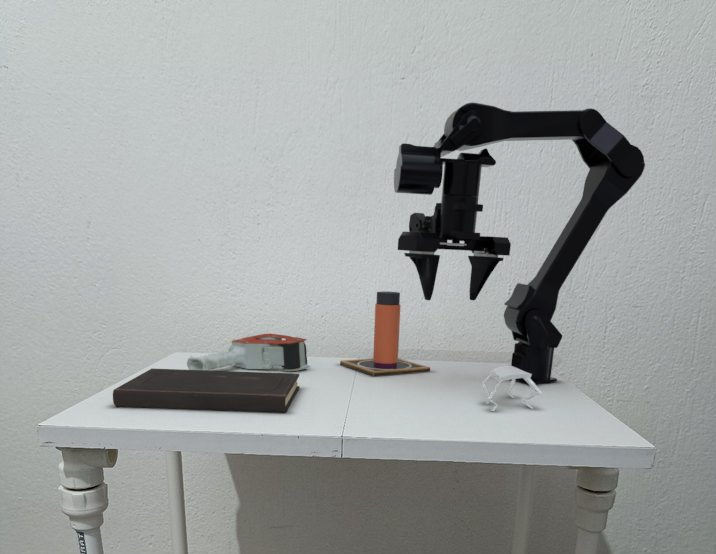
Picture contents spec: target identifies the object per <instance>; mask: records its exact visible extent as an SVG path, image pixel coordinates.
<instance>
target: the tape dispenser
mask: <svg viewBox="0 0 716 554" xmlns="http://www.w3.org/2000/svg"><path fill="white" fill-rule="evenodd" d="M305 341H307V338H302V337H298V336H295V337H294V336H291V335H286V334H285V335H284V334H278V333H261V334H256V335H252V336H246V337H241V338H238V339H233V340H231V345H230V346H229V347H228V348H227V350H228V351H221V352H216V353H210V354H206V355H202V356H190V357H188V358H187V359H186V367H187V370H208V371H212V370H216V369H221V368H224V367H228V366H232V365H233V367H236V368H240V369H247V370H271V369H274V367H276V366H279V367H280V366H281V368H283V371H284V372H287V373H288V372H289V373H291V372H298V371H301V370H305V369H306V370H307V369H309V368H310V365H308V356H307V354H308V353H307V352H308V351H307V345H306V342H305Z"/></svg>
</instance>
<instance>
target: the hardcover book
mask: <svg viewBox="0 0 716 554" xmlns="http://www.w3.org/2000/svg"><path fill="white" fill-rule="evenodd" d="M299 377H300V373H291V372H289V373H288V372H263V371H262V372H261V371H236V370H233V371H232V370H189V369H179V368H178V369H176V368H175V369H174V368H150V369H148V370H146V371H145V372H143V373H141V374H139V375H137V376H135V377H134V378H132V379H130V380H129V381H127V382H125V383H123V384H121V385H119V386H118V387H116V388H114V389H113V391H112V402H113V405H114V406H115V407H121V408H122V407H124V408H149V409H150V408H151V409H174V410H175V409H176V410H177V409H179V410H200V411H201V410H202V411H203V410H204V411H228V412H229V411H233V412H259V413H261V412H262V413H285V414H286V413H287V411H288V409H289V407H290V405H291V404H292V402H293V400H294V398H295V397H296V395H297V394H298V391H299V389H300V385H298V379H299Z"/></svg>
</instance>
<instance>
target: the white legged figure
mask: <svg viewBox="0 0 716 554" xmlns="http://www.w3.org/2000/svg"><path fill="white" fill-rule="evenodd" d="M488 372H489V373H488V375H487V376H486V377H485V378H484V379H483V380H482V382H481V385H482V388H483V390H484V391H485V394H486V395H487V397H486V399H487V401H486V402H485V405H488V404H489V403H490V402H491V403H492V404H494V406H493V407H492V408H491V410H490V411H491V412H494V411H495V410H496V409H497V408H498V406H499V404H498V403H497V402H495V401H494V400H493V399H492V397H493V396H494V395H495V393H496V391H497V390H498V388H499V386H500V384H501V382H504V381H510V380H511V382H510V384H509V386H508V389H507V391H506V393H507V394H508V396H510V397H511V398H512V399H515V397H514V395H512V394H511V390H512V389H513V386H514V385H515V383H516V381H517V380H515V379H518V378H523V379H524V380H525V381H526V382H527V383H526V384H528V385H529V386H530V388H532V389H533V390H534V391H532V392H531V393H530V394H528V395H526V396H525V397H523V398H522V399H521V400H520V401H521V402H522V403H523V404H525V405H526V406H527V407H528V408H530V409H535V408H534V407H533V406H531V405H530V404H529V403H528V402H526V401H528V400H530V399H531V400H532V399H533V398H534V397H537V396H539V395H541V394H543V392H542V391H541V389H540V388H539V387H538V385H536V384H535V383H534V382H533V381H532V380H531V379H530V378H531V376H532V374H530V373H527V372H525V371H523V370H520V369H518V368H516V367H513V366H511V365H505V366H499V367H497V368H494V369H492V370H489V371H488ZM491 378H494V379H495V380H496V381H497V383H496V384H495V386H494V387H493V389H492V390H491V392H490V393H489V391H488V389H487V386H486V382H487V381H489V380H490V379H491Z"/></svg>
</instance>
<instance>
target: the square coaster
mask: <svg viewBox="0 0 716 554" xmlns="http://www.w3.org/2000/svg"><path fill="white" fill-rule="evenodd" d="M339 365H340V366H342V367H346V368H348V369H351V370H354V371H357V372H359V373H363V374H366V375H368V376H371V377H382V376H383V377H384V376H394V375H406V374H407V375H408V374H420V373H429V372H431V367H430V366H427V365H424V364H420V363H417V362H414V361H409V360H406V359H402V358H399V357H398V362H397V368H395V369H379V368H375V367H374V361H373V357H372V358H359V359H358V358H357V359H344V360H343V359H341V360H340V361H339Z"/></svg>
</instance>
